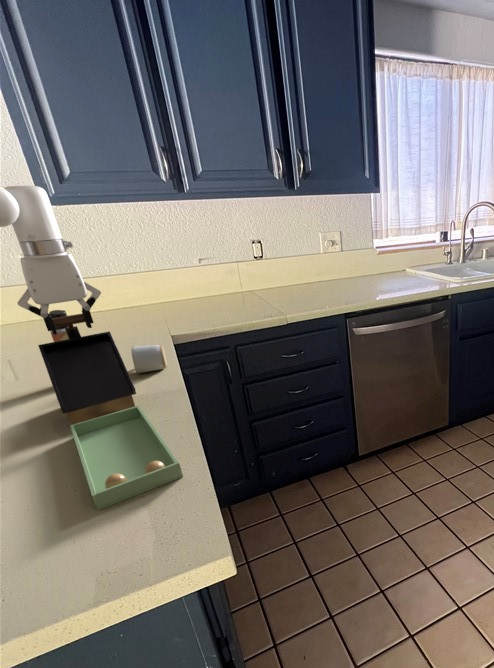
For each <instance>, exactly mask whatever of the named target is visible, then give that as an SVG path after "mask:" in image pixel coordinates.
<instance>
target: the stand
mask: <svg viewBox="0 0 494 668" xmlns="http://www.w3.org/2000/svg"><path fill="white" fill-rule="evenodd" d="M135 406H136V403H135V401H134V398H133V395H131V396H127V397H123V398H120V399H116V400H112V401H109V402H105V403H101V404H98V405H94V406H90V407H87V408H83V409H80V410H76V411H72V412H69V413H66V416H67V419H68V421H69V424H70V425H73V424H77V423H80V422H84V421H87V420H91V419H94V418H97V417H101V416H104V415H108V414H111V413H115V412H118V411H122V410H125V409H129V408H132V407H135Z"/></svg>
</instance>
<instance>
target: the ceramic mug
mask: <svg viewBox="0 0 494 668" xmlns="http://www.w3.org/2000/svg"><path fill="white" fill-rule="evenodd" d="M131 358H132V363H133V367H134V370H135V372H136V374H142V373H143V374H144V373H149V372H155V371H161V370H164V369H166V368H167V367H168V362H167V356H166V351H165V348H164V346H163V345H161V344H152V345H139V346H132V347H131Z"/></svg>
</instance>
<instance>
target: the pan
mask: <svg viewBox="0 0 494 668" xmlns="http://www.w3.org/2000/svg"><path fill="white" fill-rule="evenodd" d="M52 321H53V324H54V326H55V327H60V326H66V325H68V328H65V330H66V333H67V335H68V338H69V339H67V340H62V341H57V342H54V341H51V342H46V343H41V344H38V349H39V352H40V355H41V357H42V360H43V363H44V365H45V368H46V372H47V374H48V377H49V379H50V382H51V386H52V389H53V391H54V393H55V396H56V400H57V402H58V404H59V407H60V410H61V413H62V414H67V413H69V412H72V411H76V410H80V409H83V408H87V407H90V406H94V405H98V404H101V403H105V402H109V401H112V400H116V399H120V398H123V397H127V396H131V395H132V396H134V395H137V391H136V388H135V385H134V383H133V381H132V378H131V376H130V374H129V371H128V369H127V367H126V365H125V363H124V361H123V358H122V356H121V354H120V352H119V349H118V347H117V345H116V343H115V340H114V338H113V335H112V332H111V331H104V332H100V333H94V334H88V335H81V333H80V330H79V328H78V326H77V324H83V323H85V322H86V321H85V318H84V315H83V314H82V313H77V314H73V315H67V316H65V317H59V318H53V319H52ZM74 325H75V326H74Z"/></svg>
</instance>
